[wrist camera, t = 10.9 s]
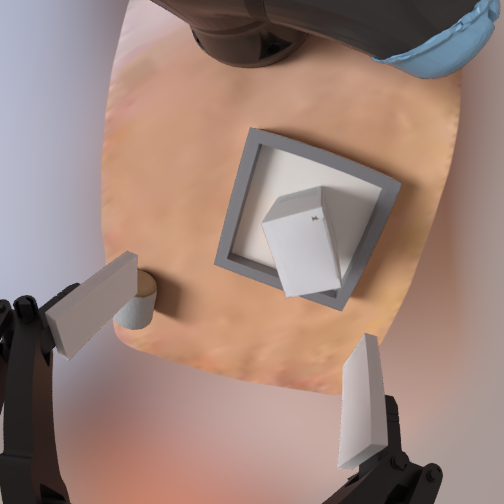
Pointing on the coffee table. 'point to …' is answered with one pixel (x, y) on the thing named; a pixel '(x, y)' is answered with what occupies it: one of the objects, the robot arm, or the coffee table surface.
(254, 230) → the square gray-rimmed holder
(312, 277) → the small box
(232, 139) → the coffee table surface
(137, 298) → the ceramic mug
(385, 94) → the coffee table surface
